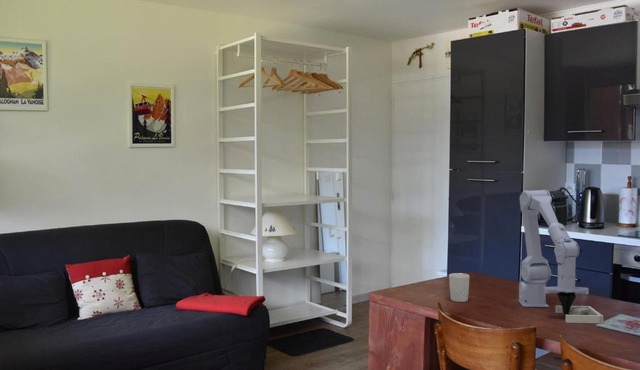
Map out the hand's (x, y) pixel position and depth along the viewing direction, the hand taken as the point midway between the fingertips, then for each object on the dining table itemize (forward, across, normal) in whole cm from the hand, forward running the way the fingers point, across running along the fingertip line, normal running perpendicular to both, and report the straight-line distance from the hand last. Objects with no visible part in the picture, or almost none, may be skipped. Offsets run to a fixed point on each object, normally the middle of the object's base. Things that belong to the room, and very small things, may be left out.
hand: (565, 313), depth 203 cm
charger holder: (+1, +4, 0) cm, 4 cm away
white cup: (+2, -34, +22) cm, 41 cm away
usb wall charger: (+2, +4, -1) cm, 4 cm away
